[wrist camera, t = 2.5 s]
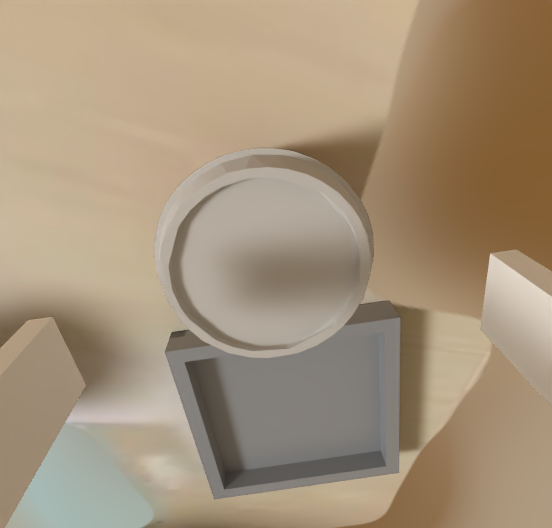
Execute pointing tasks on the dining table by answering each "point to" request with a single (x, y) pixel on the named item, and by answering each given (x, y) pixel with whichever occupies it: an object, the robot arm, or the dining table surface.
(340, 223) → the disposable coffee cup
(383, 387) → the tray
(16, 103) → the dining table surface
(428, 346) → the dining table surface
